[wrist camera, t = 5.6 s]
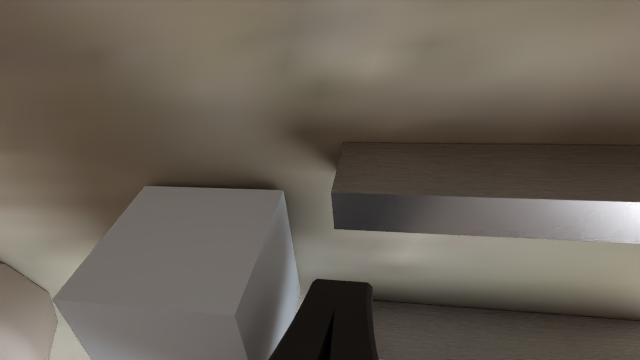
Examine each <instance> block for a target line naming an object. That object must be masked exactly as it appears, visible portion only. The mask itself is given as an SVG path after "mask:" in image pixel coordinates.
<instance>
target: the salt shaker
mask: <svg viewBox="0 0 640 360" xmlns="http://www.w3.org/2000/svg"><path fill="white" fill-rule="evenodd" d="M57 323H58V321H57V317H56V314H55V311H54V308H53V305H52V302H51V298H50V295H49V293H48V292H46V291H45V290H43V289H42V288H40V287H39V286H38V285H36V284H35V283H33V282H32V281H30V280H29V279H27V278H26V277H24V276H23V275H21V274H20V273H18V272H17V271H15V270H14V269H12V268H11V267H9V266H8V265H6V264H1V263H0V360H49V357H50V352H51V348H52V344H53V340H54V336H55V331H56V327H57Z"/></svg>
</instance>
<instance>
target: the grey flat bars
mask: <svg viewBox="0 0 640 360" xmlns="http://www.w3.org/2000/svg"><path fill="white" fill-rule="evenodd" d="M331 197H332V207H333V218H334V229H344V230H365V231H386V232H407V233H428V234H449V235H470V236H491V237H512V238H533V239H554V240H575V241H596V242H617V243H638V244H640V146H615V145H523V144H430V143H343V147H342V151H341V155H340V159H339V163H338V167H337V171H336V175H335V179H334V183H333V187H332V191H331ZM373 319H374V336H375V343H376V349H377V354H378V358H379V360H640V321H632V320H619V319H606V318H593V317H580V316H567V315H554V314H541V313H528V312H515V311H502V310H489V309H476V308H463V307H450V306H437V305H424V304H411V303H398V302H385V301H373Z"/></svg>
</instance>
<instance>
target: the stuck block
mask: <svg viewBox="0 0 640 360" xmlns="http://www.w3.org/2000/svg"><path fill="white" fill-rule="evenodd" d="M300 294H301V291H300V285H299V279H298V273H297V267H296V261H295V255H294V250H293V244H292V238H291V232H290V226H289V220H288V214H287V208H286V202H285V196H284V190H259V189H228V188H196V187H165V186H144V187H143V189H142V190H141V191H140V192H139V193H138V195H137V196H136V197H135V198H134V200H133V201H132V202H131V203H130V205H129V206H128V207H127V208H126V209H125V211H124V212H123V213H122V214H121V216H120V217H119V218H118V219H117V221H116V222H115V223H114V224H113V226H112V227H111V228H110V229H109V230H108V232H107V233H106V234H105V235H104V237H103V238H102V239H101V240H100V242H99V243H98V244H97V245H96V246H95V248H94V249H93V250H92V251H91V253H90V254H89V255H88V256H87V258H86V259H85V260H84V261H83V262H82V264H81V265H80V266H79V267H78V269H77V270H76V271H75V272H74V274H73V275H72V276H71V277H70V278H69V280H68V281H67V282H66V283H65V285H64V286H63V287H62V288H61V290H60V291H59V292H58V293H57V294H56V296H55V297H54V298H53V299H52V300H53V301H54V303H55V304H56V306H57V308H58V309H59V311H60V312H61V314H62V315H63V317H64V318H65V320H66V321H67V323H68V325H69V326H70V328H71V329H72V331H73V332H74V334H75V335H76V337H77V338H78V340H79V341H80V343H81V345H82V346H83V348H84V349H85V351H86V352H87V354H88V355H89V357H90V358H91V360H268V359H269V358H270V356H271V355H272V353H273V351H274V350H275V348H276V347H277V345H278V343H279V342H280V340H281V339H282V337H283V336H284V334H285V332H286V331H287V329H288V327H289V326H290V324H291V322H292V321H293V319H294V317H295V313H296V309H297V305H298V302H299V298H300Z"/></svg>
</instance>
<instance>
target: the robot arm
mask: <svg viewBox="0 0 640 360" xmlns="http://www.w3.org/2000/svg"><path fill="white" fill-rule="evenodd" d="M268 360H379V358H378V354H377V349H376V343H375V336H374V319H373V287H372V286H371V285H370V284H369V283H366V282H352V281H338V280H324V279H316V280H315V281H313V282H312V284H311V287H310V289H309V291H308V293H307V295H306V297H305V299H304V301H303V303H302V304H301V306H300V308H299V310H298V312H297V314H296V315H295V317H294V319H293V321H292V322H291V324H290V326H289V327H288V329H287V331H286V332H285V334H284V336H283V337H282V339H281V340H280V342H279V343H278V345H277V347H276V348H275V350H274V351H273V353H272V355H271V356H270V358H269V359H268Z"/></svg>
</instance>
